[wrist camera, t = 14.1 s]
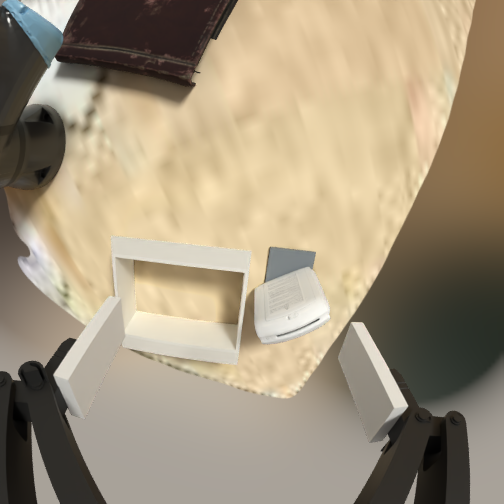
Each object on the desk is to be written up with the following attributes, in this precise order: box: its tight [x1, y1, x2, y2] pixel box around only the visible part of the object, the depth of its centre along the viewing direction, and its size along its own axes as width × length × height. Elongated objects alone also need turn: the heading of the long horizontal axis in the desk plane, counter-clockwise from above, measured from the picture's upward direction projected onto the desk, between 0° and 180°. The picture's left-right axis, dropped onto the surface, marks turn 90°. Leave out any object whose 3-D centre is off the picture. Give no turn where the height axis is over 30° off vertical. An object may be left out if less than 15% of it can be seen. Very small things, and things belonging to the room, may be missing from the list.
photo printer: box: [254, 267, 330, 344], centre depth 40 cm, size 10×4×12 cm, turn 114°
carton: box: [111, 235, 251, 365], centre depth 43 cm, size 19×19×7 cm
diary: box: [55, 0, 238, 86], centre depth 29 cm, size 19×25×5 cm
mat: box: [265, 247, 316, 283], centre depth 46 cm, size 7×12×1 cm, turn 173°
